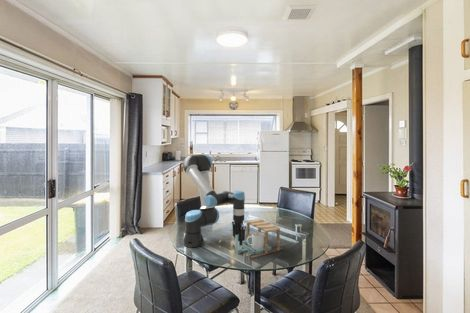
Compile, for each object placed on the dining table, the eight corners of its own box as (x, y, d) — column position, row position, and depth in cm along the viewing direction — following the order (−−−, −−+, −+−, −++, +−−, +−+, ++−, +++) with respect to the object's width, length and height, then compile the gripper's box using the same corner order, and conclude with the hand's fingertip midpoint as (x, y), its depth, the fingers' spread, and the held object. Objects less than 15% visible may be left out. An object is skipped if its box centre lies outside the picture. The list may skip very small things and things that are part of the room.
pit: (266, 240, 198) (266, 240, 198) (273, 238, 202) (273, 238, 202) (278, 247, 186) (279, 246, 186) (286, 245, 190) (286, 244, 190)
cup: (264, 250, 180) (265, 236, 180) (247, 250, 179) (247, 236, 178) (262, 245, 189) (262, 231, 188) (246, 245, 188) (246, 232, 187)
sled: (229, 247, 183) (229, 231, 182) (255, 241, 195) (255, 225, 194) (244, 258, 168) (244, 240, 167) (271, 250, 180) (272, 233, 179)
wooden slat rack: (232, 245, 187) (232, 223, 186) (263, 238, 202) (263, 217, 201) (251, 258, 168) (251, 234, 166) (283, 249, 182) (284, 226, 181)
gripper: (227, 212, 179) (227, 245, 181) (240, 218, 165) (240, 254, 167) (236, 210, 183) (236, 243, 185) (250, 216, 169) (250, 251, 171)
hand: (238, 248), depth 176 cm, fingers closed on sled, 3 cm apart
